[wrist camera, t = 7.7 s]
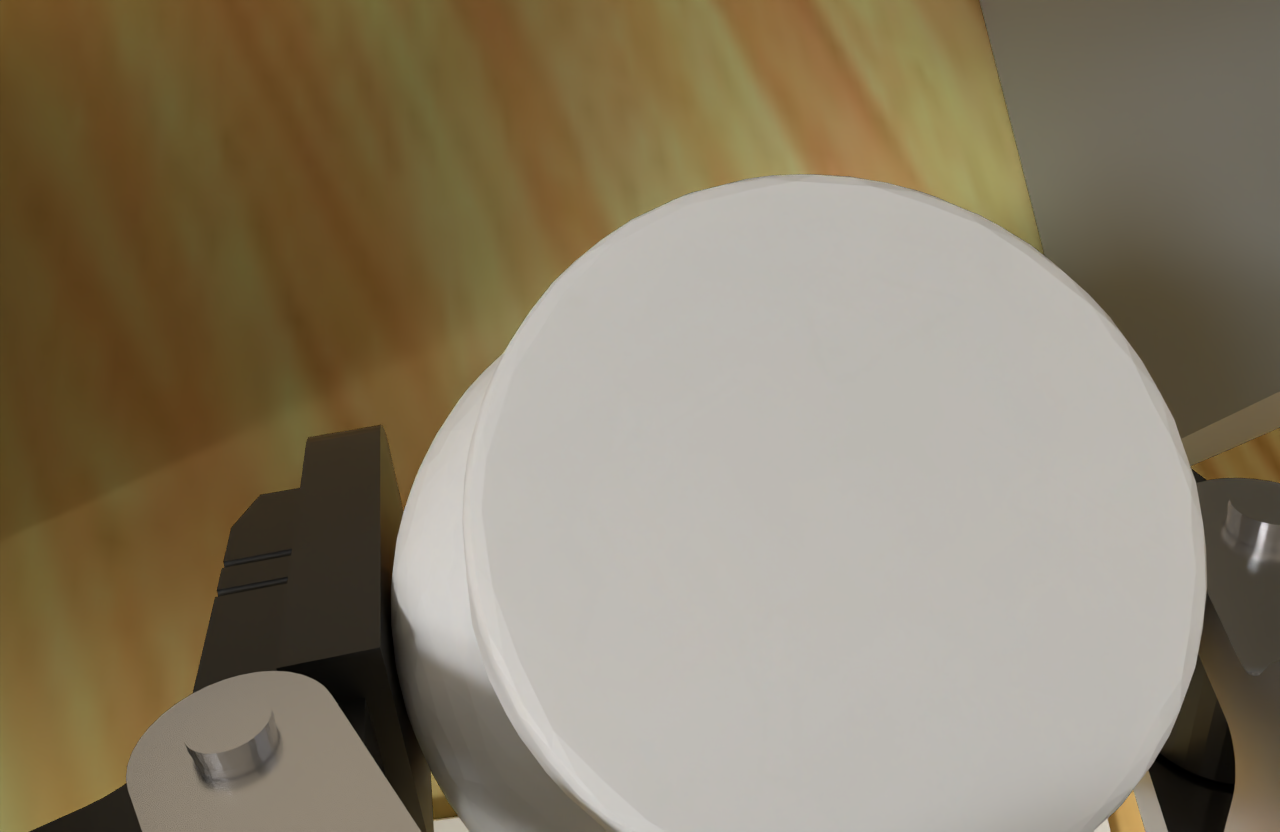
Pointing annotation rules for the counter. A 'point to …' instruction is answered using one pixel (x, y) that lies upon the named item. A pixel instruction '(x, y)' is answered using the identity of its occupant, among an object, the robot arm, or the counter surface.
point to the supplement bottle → (802, 535)
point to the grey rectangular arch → (1161, 186)
